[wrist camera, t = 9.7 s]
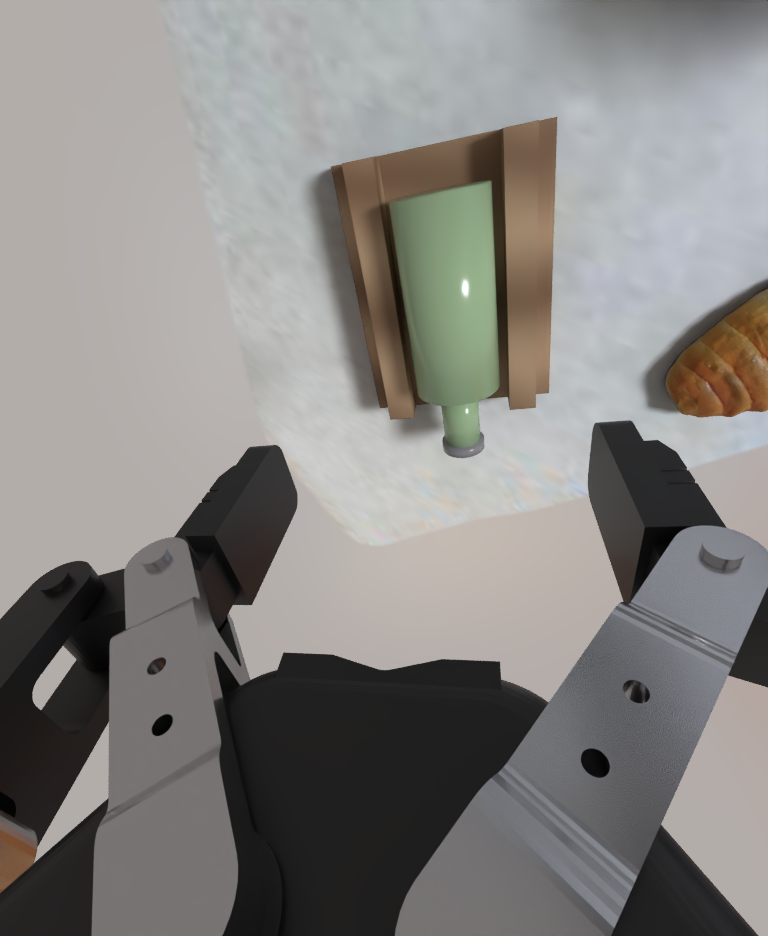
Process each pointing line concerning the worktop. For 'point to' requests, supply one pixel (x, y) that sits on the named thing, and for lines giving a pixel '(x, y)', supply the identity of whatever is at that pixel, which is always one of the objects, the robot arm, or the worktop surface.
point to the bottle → (450, 303)
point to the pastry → (725, 365)
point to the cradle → (515, 247)
